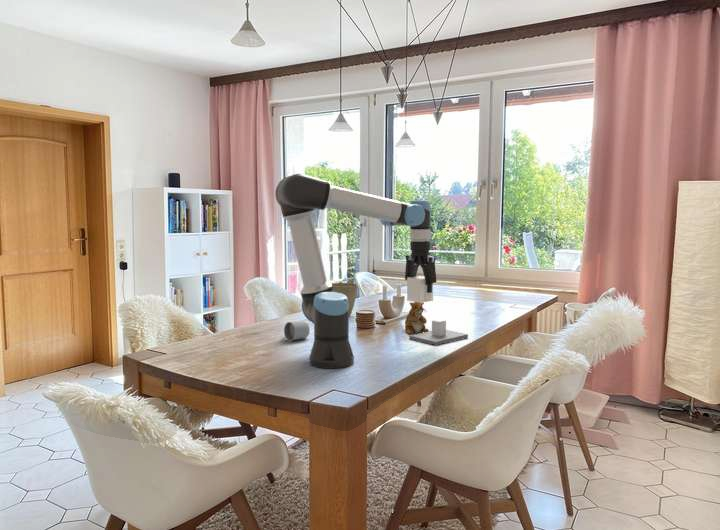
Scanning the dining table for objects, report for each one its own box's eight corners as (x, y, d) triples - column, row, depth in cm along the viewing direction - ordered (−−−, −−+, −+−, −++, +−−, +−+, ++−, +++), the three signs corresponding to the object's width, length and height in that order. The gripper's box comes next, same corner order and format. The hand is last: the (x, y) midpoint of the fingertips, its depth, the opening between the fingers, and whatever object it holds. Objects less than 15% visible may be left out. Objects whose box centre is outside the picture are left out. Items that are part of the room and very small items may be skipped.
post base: (435, 345, 201) (435, 326, 200) (409, 339, 212) (409, 320, 211) (467, 337, 214) (468, 319, 213) (441, 332, 225) (441, 315, 224)
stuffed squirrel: (408, 335, 220) (408, 304, 219) (399, 328, 234) (399, 299, 232) (430, 333, 222) (431, 303, 221) (420, 327, 236) (420, 298, 234)
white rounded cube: (420, 302, 196) (420, 279, 196) (407, 300, 202) (407, 277, 201) (433, 300, 201) (433, 277, 200) (419, 298, 206) (419, 276, 205)
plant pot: (331, 312, 270) (331, 282, 269) (359, 313, 268) (359, 282, 267) (325, 318, 256) (325, 286, 254) (355, 319, 254) (355, 286, 252)
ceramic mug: (311, 339, 212) (310, 320, 211) (294, 342, 206) (294, 323, 205) (295, 335, 219) (295, 317, 219) (279, 338, 214) (278, 320, 213)
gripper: (446, 240, 194) (446, 301, 196) (408, 239, 209) (408, 296, 211) (433, 241, 189) (433, 304, 191) (395, 240, 204) (395, 298, 207)
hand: (420, 299), depth 201 cm, fingers closed on white rounded cube, 7 cm apart
